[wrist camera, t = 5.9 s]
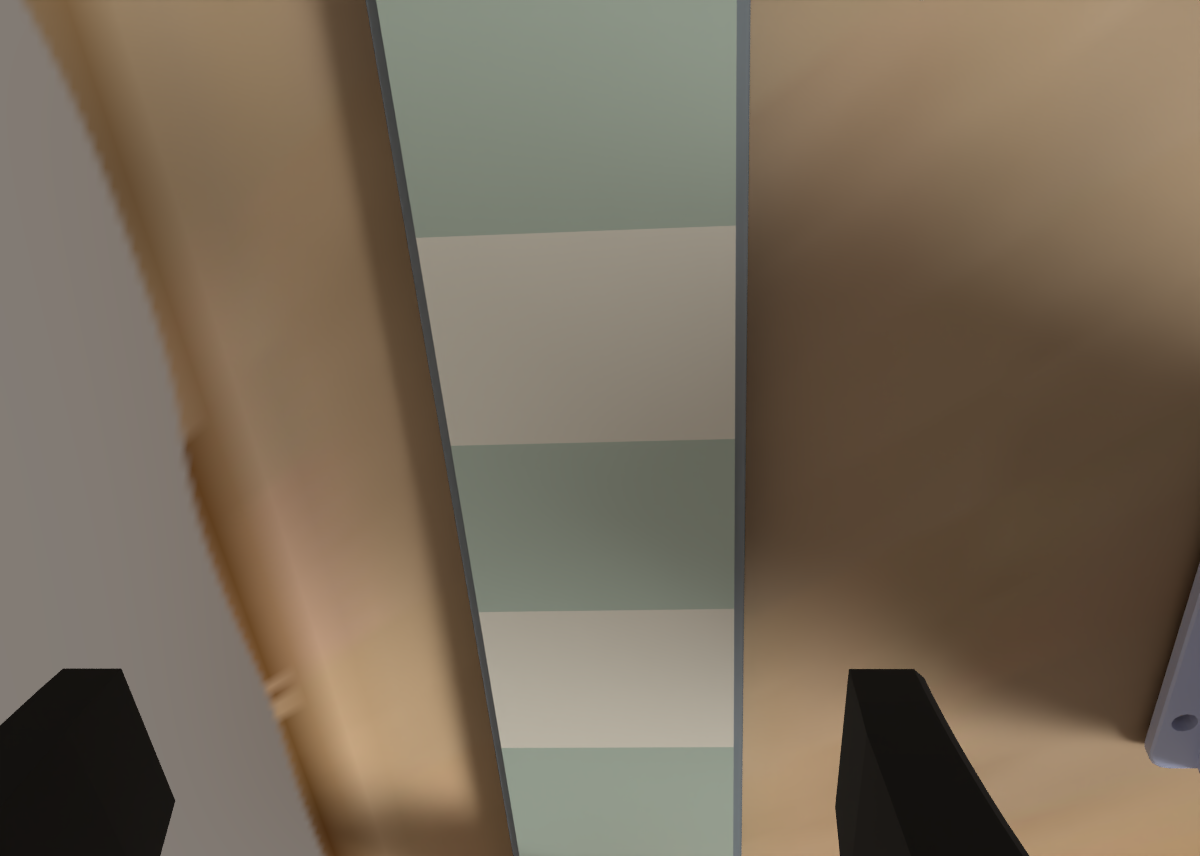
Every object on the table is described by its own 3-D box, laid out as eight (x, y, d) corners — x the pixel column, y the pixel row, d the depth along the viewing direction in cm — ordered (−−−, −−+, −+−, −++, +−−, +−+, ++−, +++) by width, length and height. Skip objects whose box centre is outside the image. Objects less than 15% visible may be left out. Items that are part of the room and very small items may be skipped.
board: (738, 919, 30) (740, 963, 29) (533, 918, 30) (529, 961, 29) (746, -85, 16) (751, -68, 15) (373, -63, 16) (354, -45, 15)
